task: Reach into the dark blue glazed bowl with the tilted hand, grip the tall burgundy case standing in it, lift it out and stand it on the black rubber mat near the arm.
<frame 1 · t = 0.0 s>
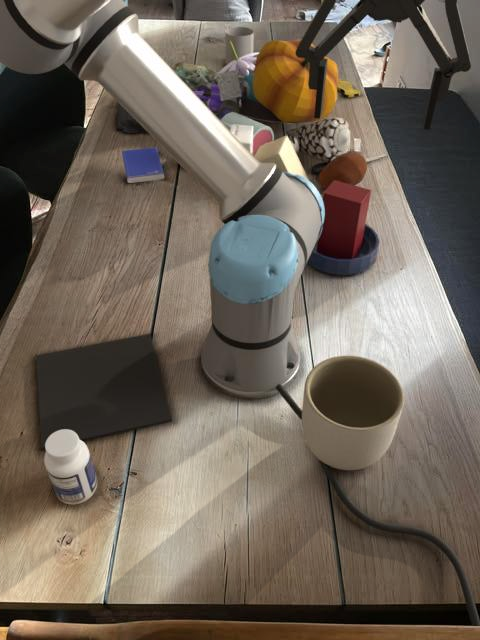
hand: (371, 119, 78), 36 cm above the table, tool pointing down, fingers open, 13 cm apart
elephant figurine: (283, 164, 141), on the table
seashell: (311, 120, 139), point 8 cm above the table, touching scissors, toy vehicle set
mug: (222, 128, 140), point 6 cm above the table
bowl: (338, 255, 116), on the table
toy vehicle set: (335, 142, 145), point 2 cm above the table, touching seashell
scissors: (386, 153, 144), on the table, touching seashell
case: (338, 251, 115), point 1 cm above the table, touching bowl
ink box 2: (221, 121, 151), point 3 cm above the table, touching toy race car
claw: (254, 108, 174), on the table, touching decorative object
planter: (343, 443, 84), on the table
decorative object: (270, 116, 160), on the table, touching claw, decorative pumpkin, rock, toy race car, water lily
blue book: (146, 178, 134), point 1 cm above the table
water lily: (229, 40, 154), point 16 cm above the table, touching decorative object
potato: (330, 163, 133), point 4 cm above the table
toy race car: (216, 106, 149), point 6 cm above the table, touching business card, decorative object, ink box 2
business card: (228, 83, 141), point 13 cm above the table, touching toy race car
ink box: (240, 183, 135), on the table
mat: (101, 388, 91), on the table
pill bottle: (77, 487, 79), on the table
rock: (197, 62, 157), point 11 cm above the table, touching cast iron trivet, decorative object
cream wooden brick: (267, 148, 125), point 10 cm above the table
supplement bottle: (190, 165, 141), on the table
decorative pumpkin: (284, 102, 148), point 8 cm above the table, touching decorative object
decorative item: (336, 88, 171), point 1 cm above the table
cup: (239, 67, 185), on the table
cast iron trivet: (147, 114, 160), on the table, touching rock
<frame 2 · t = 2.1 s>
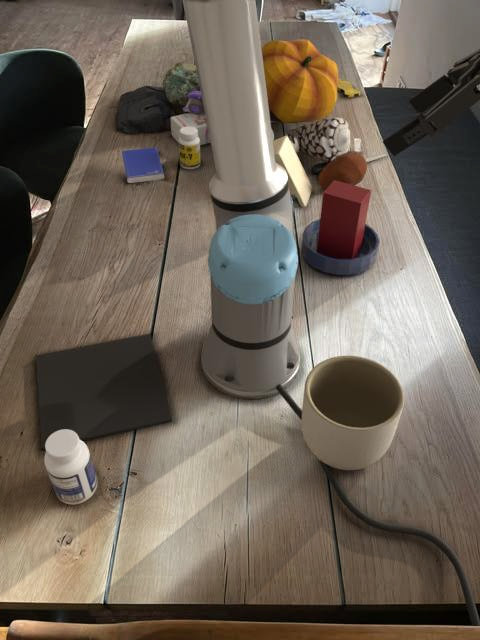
hand: (402, 126, 92), 28 cm above the table, tool tilted 45°, fingers open, 13 cm apart
decorative object: (270, 116, 160), on the table, touching claw, decorative pumpkin, toy race car, water lily
rock: (197, 62, 157), point 11 cm above the table, touching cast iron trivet
everything else where it was.
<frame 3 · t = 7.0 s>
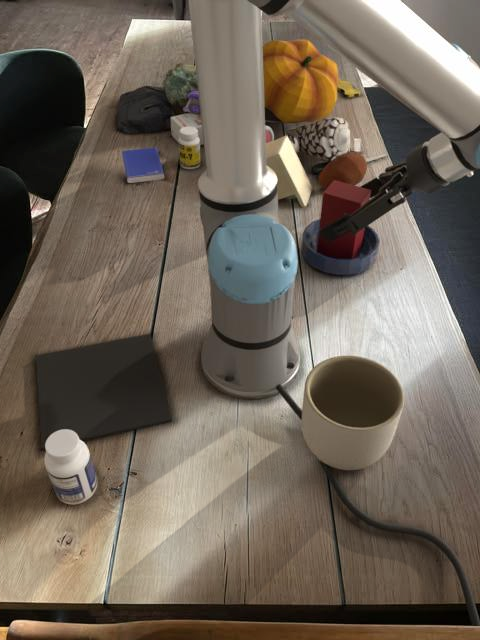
hand: (338, 217, 111), 8 cm above the table, tool tilted 45°, fingers open, 13 cm apart
nothing on the table moved.
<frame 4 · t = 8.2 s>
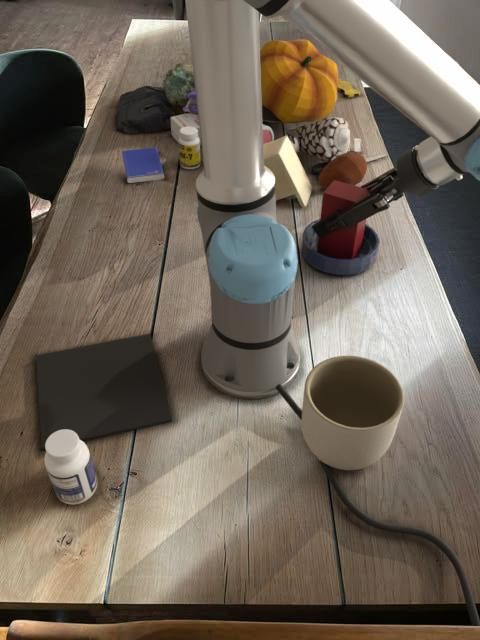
hand: (323, 224, 113), 6 cm above the table, tool tilted 45°, fingers closed on case, 5 cm apart
case: (338, 251, 115), point 1 cm above the table, touching bowl, gripper
everything else where it was.
when the fingers open (6 cm above the table, at t = 21.6 s): case stays where it is, resting on arm, mat.
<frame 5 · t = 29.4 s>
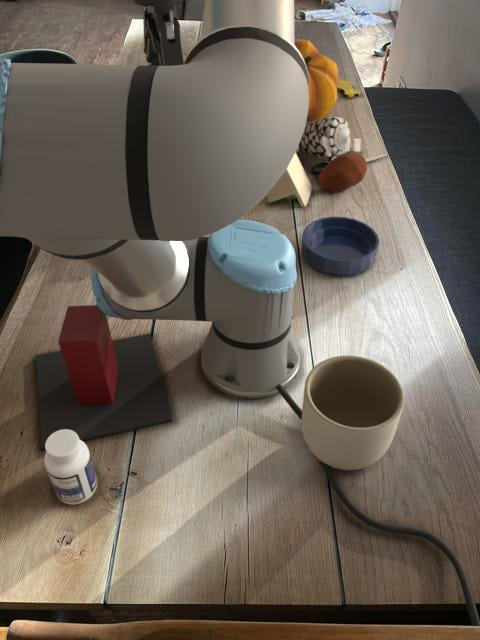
hand: (168, 125, 91), 29 cm above the table, tool pointing down, fingers open, 13 cm apart
case: (99, 386, 91), point 1 cm above the table, touching arm, mat
everything else where it was.
at the end: case inside the target area on the mat (0.3 cm from its centre), point 0.7 cm above the mat's base; case tilted 2°; case touching arm, mat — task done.
